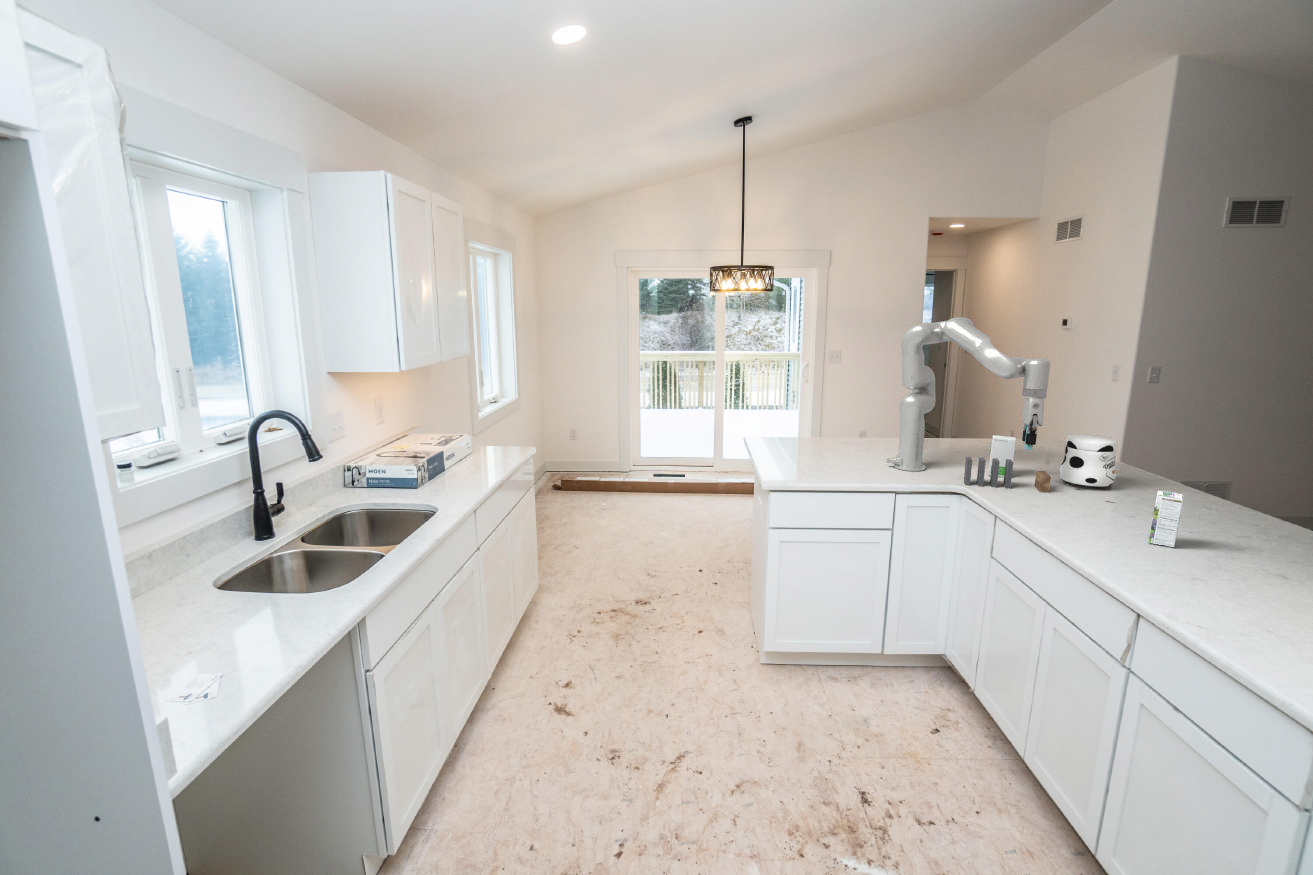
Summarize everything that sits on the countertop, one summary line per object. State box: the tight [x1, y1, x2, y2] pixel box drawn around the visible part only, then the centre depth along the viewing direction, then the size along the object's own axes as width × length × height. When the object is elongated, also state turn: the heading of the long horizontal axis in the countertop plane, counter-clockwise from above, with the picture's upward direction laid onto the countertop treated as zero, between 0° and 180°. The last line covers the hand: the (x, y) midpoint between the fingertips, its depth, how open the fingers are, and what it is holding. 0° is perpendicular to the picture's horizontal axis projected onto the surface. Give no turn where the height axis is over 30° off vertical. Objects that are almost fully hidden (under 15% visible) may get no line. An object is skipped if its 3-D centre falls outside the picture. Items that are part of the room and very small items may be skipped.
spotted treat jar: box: [1059, 433, 1118, 489], centre depth 228 cm, size 17×17×18 cm
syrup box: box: [1148, 490, 1184, 548], centre depth 171 cm, size 6×6×14 cm
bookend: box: [1034, 470, 1052, 494], centre depth 224 cm, size 3×8×6 cm, turn 160°
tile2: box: [976, 456, 987, 487], centre depth 231 cm, size 2×5×10 cm, turn 160°
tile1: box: [963, 456, 973, 486], centre depth 232 cm, size 2×5×10 cm, turn 160°
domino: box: [1024, 423, 1034, 451], centre depth 223 cm, size 2×5×10 cm, turn 160°
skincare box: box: [987, 434, 1017, 478], centre depth 243 cm, size 8×7×16 cm
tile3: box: [989, 458, 1000, 489], centre depth 229 cm, size 2×5×10 cm, turn 160°
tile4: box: [1002, 459, 1014, 489], centre depth 228 cm, size 2×5×10 cm, turn 160°
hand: (1028, 442), depth 223 cm, fingers closed on domino, 4 cm apart
